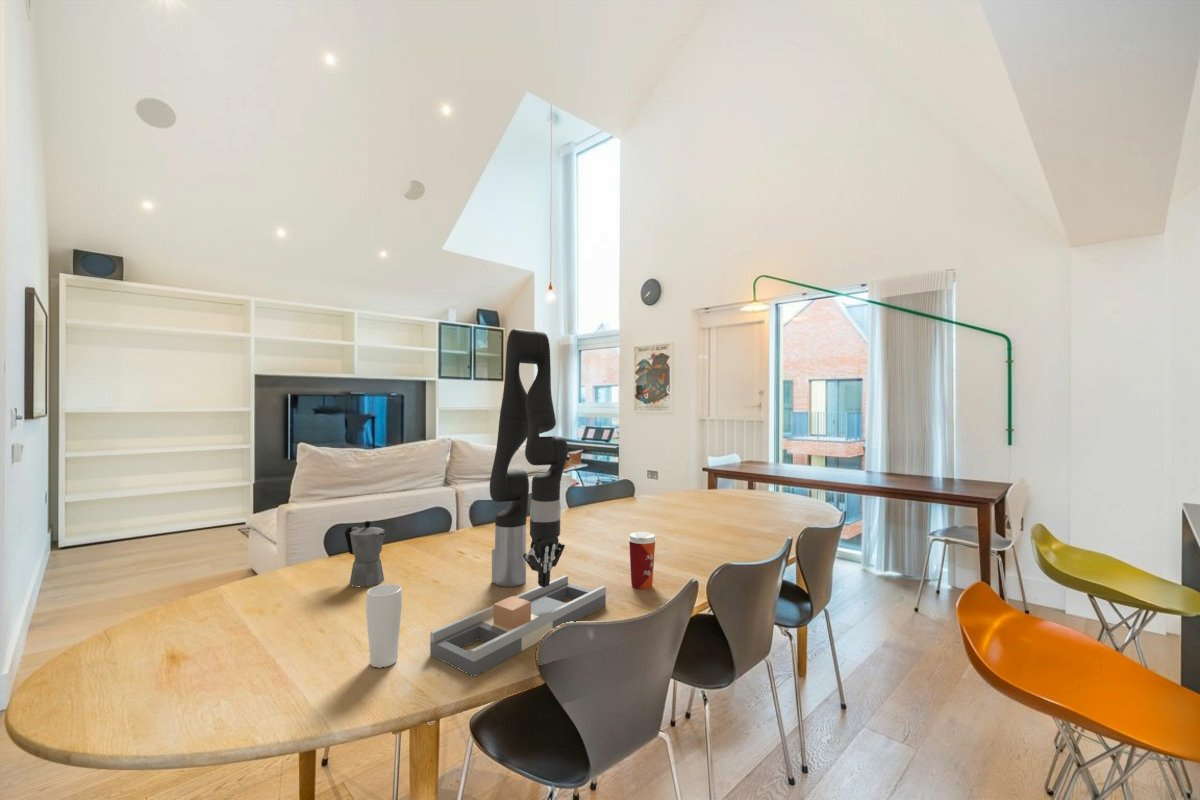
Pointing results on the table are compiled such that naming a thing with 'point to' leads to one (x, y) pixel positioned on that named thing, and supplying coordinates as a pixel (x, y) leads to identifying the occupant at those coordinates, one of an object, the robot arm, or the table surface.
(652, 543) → the coffee cup
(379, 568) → the coffeepot
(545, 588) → the track
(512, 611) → the block
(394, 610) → the drinking glass
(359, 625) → the table surface
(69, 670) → the table surface
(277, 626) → the table surface
